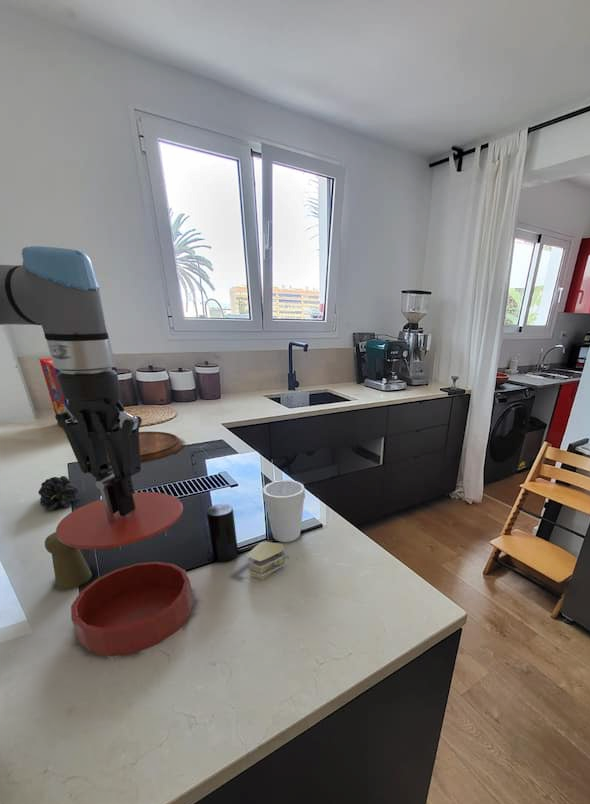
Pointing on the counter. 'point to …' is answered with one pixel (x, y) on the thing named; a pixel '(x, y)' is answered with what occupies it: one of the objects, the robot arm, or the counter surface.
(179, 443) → the cutting board
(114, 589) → the pot
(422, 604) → the counter surface
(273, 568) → the beige layered block
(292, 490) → the foam cup
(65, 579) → the cork
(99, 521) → the lid
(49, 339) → the robot arm
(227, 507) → the black item
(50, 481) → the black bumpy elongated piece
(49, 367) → the red and blue box
